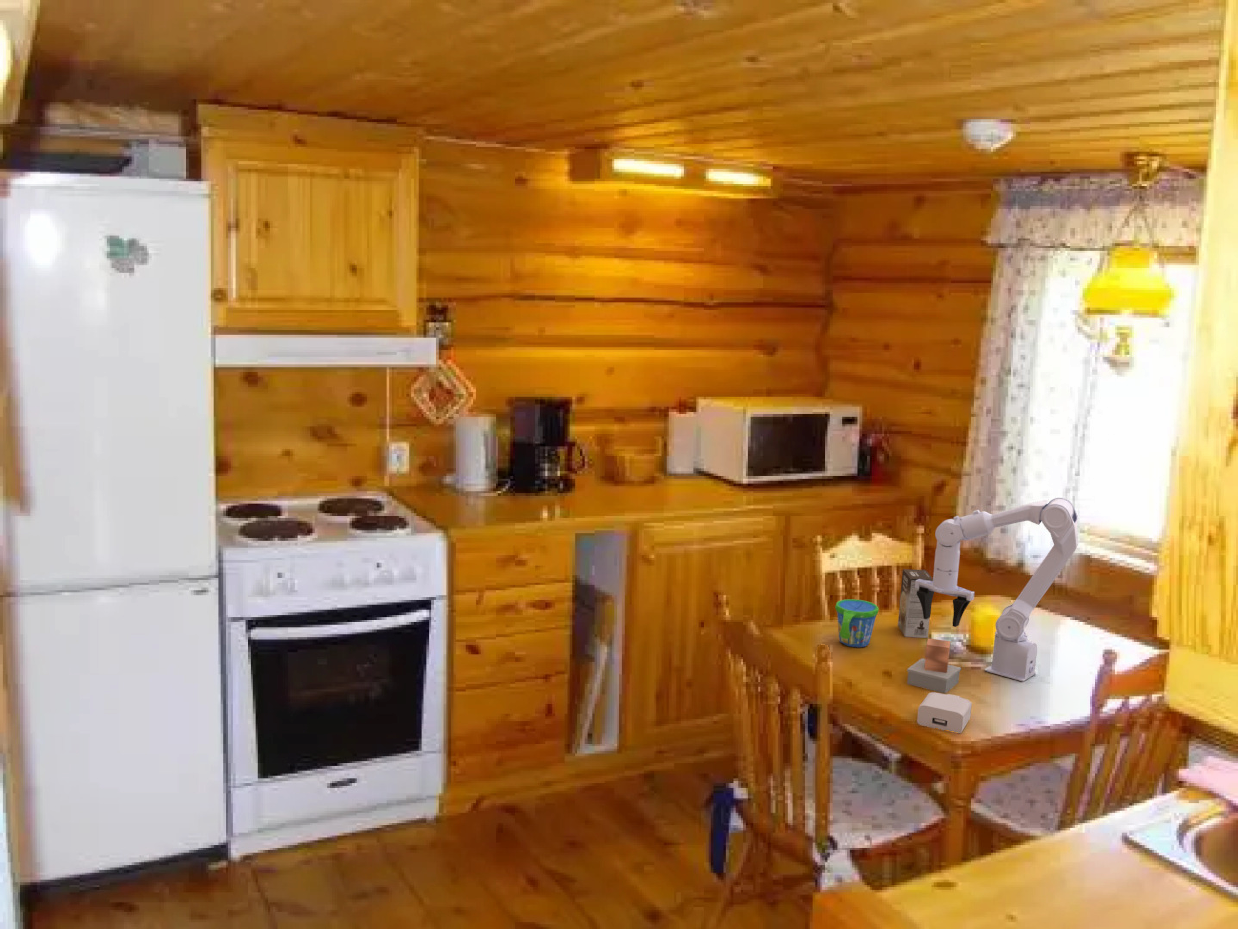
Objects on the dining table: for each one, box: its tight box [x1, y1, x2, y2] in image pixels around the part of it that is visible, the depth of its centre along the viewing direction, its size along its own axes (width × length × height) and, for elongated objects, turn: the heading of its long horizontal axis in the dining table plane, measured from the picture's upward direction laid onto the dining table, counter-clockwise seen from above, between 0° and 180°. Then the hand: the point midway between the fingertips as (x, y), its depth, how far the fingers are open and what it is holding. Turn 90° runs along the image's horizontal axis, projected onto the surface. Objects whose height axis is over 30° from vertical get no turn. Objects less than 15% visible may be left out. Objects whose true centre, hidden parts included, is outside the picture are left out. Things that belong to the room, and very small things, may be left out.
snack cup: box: [834, 598, 880, 648], centre depth 283 cm, size 16×10×10 cm
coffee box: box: [897, 568, 933, 639], centre depth 293 cm, size 9×6×16 cm
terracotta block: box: [924, 637, 951, 673], centre depth 257 cm, size 5×5×6 cm
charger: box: [916, 691, 973, 734], centre depth 238 cm, size 5×9×15 cm
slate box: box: [906, 658, 962, 695], centre depth 258 cm, size 9×9×4 cm
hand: (941, 622), depth 273 cm, fingers open, 7 cm apart
